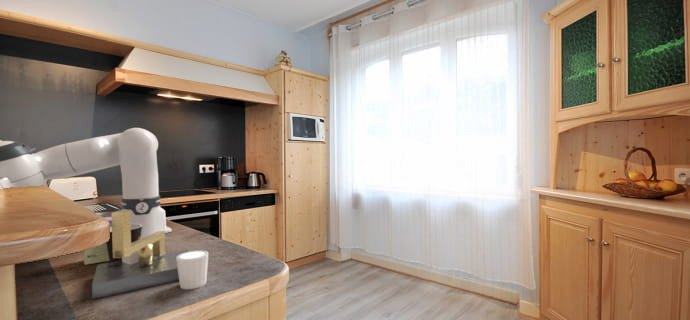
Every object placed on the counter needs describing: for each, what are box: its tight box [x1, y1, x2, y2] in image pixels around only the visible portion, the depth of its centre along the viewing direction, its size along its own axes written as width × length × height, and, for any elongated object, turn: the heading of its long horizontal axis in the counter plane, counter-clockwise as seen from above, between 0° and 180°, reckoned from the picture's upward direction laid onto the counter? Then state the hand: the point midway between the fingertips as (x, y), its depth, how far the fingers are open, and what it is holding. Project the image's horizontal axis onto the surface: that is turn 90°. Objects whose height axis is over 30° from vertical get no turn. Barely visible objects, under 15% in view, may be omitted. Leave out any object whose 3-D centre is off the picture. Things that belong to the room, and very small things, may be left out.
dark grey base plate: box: [91, 249, 189, 300], centre depth 78 cm, size 14×20×3 cm
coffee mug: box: [106, 224, 142, 263], centre depth 89 cm, size 12×9×10 cm
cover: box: [122, 251, 139, 265], centre depth 81 cm, size 4×4×3 cm
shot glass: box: [176, 249, 209, 290], centre depth 74 cm, size 7×7×7 cm
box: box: [83, 216, 112, 266], centre depth 91 cm, size 10×6×12 cm, turn 125°
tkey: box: [110, 209, 166, 266], centre depth 76 cm, size 16×3×15 cm, turn 0°
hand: (98, 228), depth 67 cm, fingers closed
